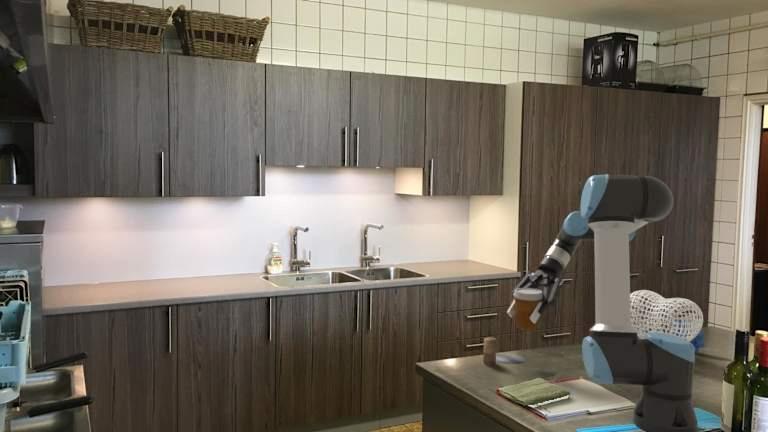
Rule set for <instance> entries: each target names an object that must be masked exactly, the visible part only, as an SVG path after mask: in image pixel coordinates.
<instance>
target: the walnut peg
mask: <svg viewBox="0 0 768 432" xmlns="http://www.w3.org/2000/svg"><path fill="white" fill-rule="evenodd" d="M497 342H498V339H497V338H495V337H489V336H488V337H485V338H483V356H482V357H483V359H482V360H483V361H482V362H483V364H485V365H484V366H486V365H495V364H496V363H497V361H496V354H497V344H498V343H497ZM483 364H482V365H483Z"/></svg>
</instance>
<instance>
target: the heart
mask: <svg viewBox="0 0 768 432" xmlns="http://www.w3.org/2000/svg"><path fill="white" fill-rule="evenodd" d="M642 297H643V298H642ZM646 299H647V300H646ZM644 302H645V303H644ZM636 308H637V309H636ZM630 310H631V325H632V327H633V328H634V329H635V330H637V336H638V339H645V335H646V333H648V332H660V333H666V334H670V335H674V336H676V334H677V333H678V334H679V335H678V336H677V337H680V335H681V334H683V336H682V337H680V338H683V339H687V341H689V342H690V341H691V340H692V339H694V338H695V337H696V336H697V334H698V333H699V332H700V330H701V331H702V328H703V324H704V315H703V314H704V313H703V311H702V310H701V308H700V306H699V305H698V304H697V303H696V302H694V301H692V300H690V299H687V298H683V297H671V298H665V297H663V296H662V295H660V294H659V293H658V292H656V291H655V292H654V291H653V290H652V291H651V290H649V289H648V290H647V289H640V290H636V291H633V292H630ZM687 311H688V313H687ZM683 312H684V313H683ZM662 315H663V316H662ZM679 315H680V316H681V317H680V316H679ZM683 315H684V316H683ZM642 317H643V318H642ZM684 319H685V323H684ZM676 320H677V323H676V322H675V321H676ZM688 320H689V321H688ZM679 321H681V323H679ZM690 323H691V324H690ZM694 323H695V324H694ZM675 324H677V327H675V326H674V325H675ZM679 324H681V328H679ZM682 324H683V328H682ZM662 325H663V326H662ZM684 325H685V328H684ZM686 325H687V328H686ZM688 325H689V328H688ZM690 325H691V328H690ZM666 326H667V327H666ZM693 326H694V328H693ZM650 329H651V330H650ZM674 329H676V331H674ZM678 329H679V330H680V332H678ZM672 330H673V331H672ZM683 330H684V333H682V331H683ZM687 330H688V333H686V332H687ZM689 330H690V331H689ZM691 330H692V333H690V332H691ZM694 330H695V331H694ZM668 331H669V332H668ZM672 332H675V334H673V333H672ZM685 335H687V336H686V337H684V336H685ZM689 335H690V337H689ZM694 335H695V336H694Z"/></svg>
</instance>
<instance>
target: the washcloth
mask: <svg viewBox="0 0 768 432" xmlns="http://www.w3.org/2000/svg"><path fill="white" fill-rule="evenodd" d="M497 393H498V395H500V396H502V397H505V398H506V399H509V400H511V401H512V402H515V403H518V404H521V405H523V406H524V407H527V406H528V405H535V404H538V403H543V402H545V401H549V400H554V399H557V398H561V397H564V396H567V395H571V392H570V391H569V390H568V389H566V388H563V387H560V386H558V385H557V384H553V383H551V382H549V381H547V380H546V379H543V378H541V377H537V378H534V379H531V380H526V381H524V382H523V381H522V382H519V383H516V384H513V385H512V384H511V385H506V386H504V387H502V388H501V389H499V390H498V391H497ZM525 405H526V406H525Z"/></svg>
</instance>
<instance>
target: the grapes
mask: <svg viewBox="0 0 768 432" xmlns="http://www.w3.org/2000/svg"><path fill="white" fill-rule="evenodd" d="M688 321H689V319H688ZM674 322H676V323H677V319H675V321H674ZM679 323H681V320H679ZM684 323H685V319H684ZM690 324H691V323H690ZM694 324H695V323H694ZM674 327H677V324H675V325H674ZM679 328H681V324H679ZM682 328H683V324H682ZM684 328H685V325H684ZM686 328H687V325H686ZM688 328H689V325H688ZM690 328H691V325H690ZM693 328H694V326H693ZM672 331H673V330H672ZM674 331H676V329H674ZM689 331H690V330H689ZM694 331H695V330H694ZM678 332H680V330H679V329H678ZM672 333H673V334H675V332H672ZM682 333H684V330H683V331H682ZM686 333H688V330H687V332H686ZM690 333H692V330H691V332H690ZM678 335H679V334H678V333H677V334H676V336H678ZM705 335H706V334H705V333H704V331H703V330H702V329H701V330H700V332H699V333H698V334H697V336H696V337H695V338H694V339H692V340H691V341H690V343H691V344H692V345H693V346H694V350H695V353H694V354H697V353H699V351H700V348H701V349H703V348H705V345H706V343H705V341H704V340H703V339H704V338H705V337H706V336H705ZM682 336H683V334H681V335H680V337H682ZM686 336H687V335H685V336H684V337H686ZM694 336H695V335H694ZM689 337H690V335H689ZM685 340H687V339H685Z"/></svg>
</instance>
